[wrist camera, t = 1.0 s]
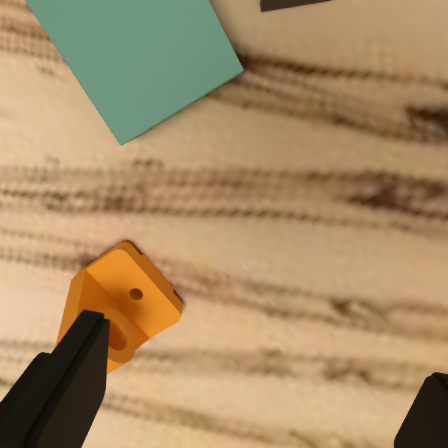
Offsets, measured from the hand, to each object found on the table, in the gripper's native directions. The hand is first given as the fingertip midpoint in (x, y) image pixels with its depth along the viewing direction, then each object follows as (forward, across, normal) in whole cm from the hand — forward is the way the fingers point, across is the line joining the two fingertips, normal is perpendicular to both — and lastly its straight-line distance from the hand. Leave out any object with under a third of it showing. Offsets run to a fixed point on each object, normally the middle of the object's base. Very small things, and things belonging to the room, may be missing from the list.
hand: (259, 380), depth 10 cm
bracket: (+27, +10, +16) cm, 33 cm away
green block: (+27, +11, -10) cm, 31 cm away
